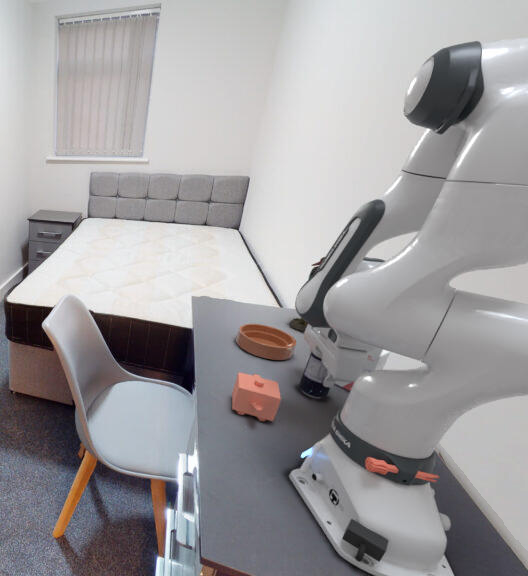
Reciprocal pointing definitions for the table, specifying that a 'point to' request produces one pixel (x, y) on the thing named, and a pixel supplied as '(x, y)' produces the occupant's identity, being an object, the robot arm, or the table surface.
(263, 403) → the pink cube teapot
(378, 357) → the ink cartridge box
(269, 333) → the orange round dish
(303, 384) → the beverage can
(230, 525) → the table surface
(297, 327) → the sculpture
